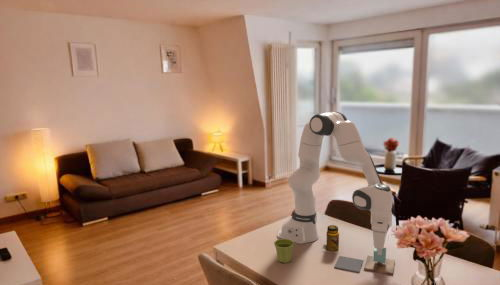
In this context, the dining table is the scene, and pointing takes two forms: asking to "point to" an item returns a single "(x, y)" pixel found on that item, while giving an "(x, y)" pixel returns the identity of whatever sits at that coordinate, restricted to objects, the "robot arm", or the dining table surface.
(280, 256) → the plant pot
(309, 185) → the robot arm
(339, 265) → the mat
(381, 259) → the teal cube
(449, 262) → the dining table surface
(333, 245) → the condiment
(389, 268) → the post
